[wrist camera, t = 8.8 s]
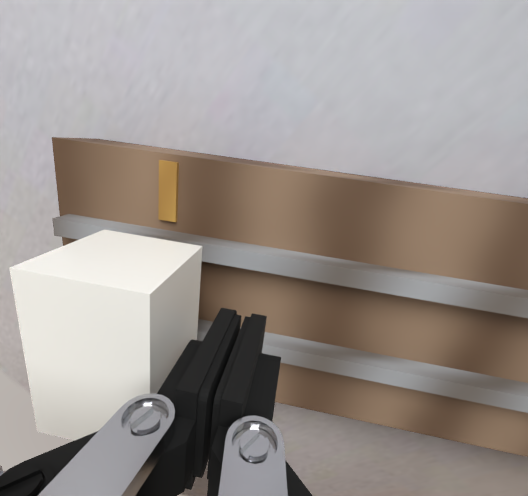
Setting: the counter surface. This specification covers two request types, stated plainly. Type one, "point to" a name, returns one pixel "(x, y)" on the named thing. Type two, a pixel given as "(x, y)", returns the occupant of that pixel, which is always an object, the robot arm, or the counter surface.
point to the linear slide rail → (337, 278)
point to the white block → (103, 324)
